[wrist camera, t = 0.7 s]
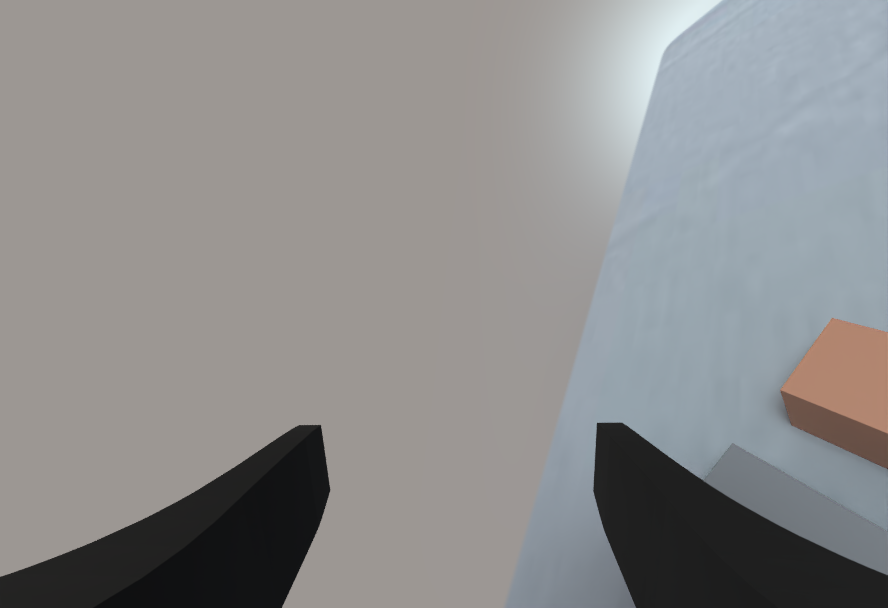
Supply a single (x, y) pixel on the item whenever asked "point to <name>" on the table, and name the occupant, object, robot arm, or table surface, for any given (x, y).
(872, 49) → the table surface
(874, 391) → the terracotta block
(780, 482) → the grey block
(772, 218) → the table surface
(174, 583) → the robot arm
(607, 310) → the table surface
